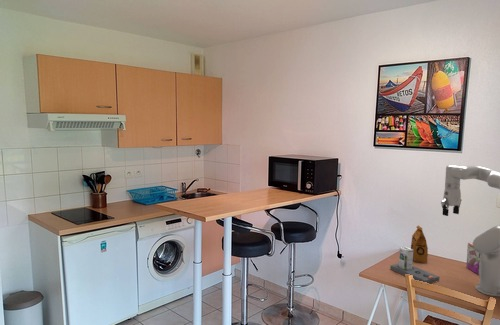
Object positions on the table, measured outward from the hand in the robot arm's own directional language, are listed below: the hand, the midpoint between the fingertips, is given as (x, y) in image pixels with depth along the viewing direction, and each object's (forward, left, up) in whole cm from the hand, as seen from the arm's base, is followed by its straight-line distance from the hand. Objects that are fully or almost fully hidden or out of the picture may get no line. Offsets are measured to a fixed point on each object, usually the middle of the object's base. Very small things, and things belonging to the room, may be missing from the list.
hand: (450, 214), depth 200 cm
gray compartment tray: (+8, +19, -37) cm, 42 cm away
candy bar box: (-5, -20, -37) cm, 42 cm away
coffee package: (+23, -5, -37) cm, 44 cm away
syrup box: (+14, +19, -37) cm, 44 cm away
